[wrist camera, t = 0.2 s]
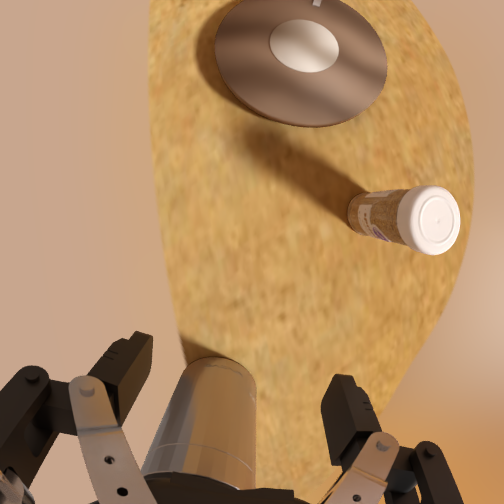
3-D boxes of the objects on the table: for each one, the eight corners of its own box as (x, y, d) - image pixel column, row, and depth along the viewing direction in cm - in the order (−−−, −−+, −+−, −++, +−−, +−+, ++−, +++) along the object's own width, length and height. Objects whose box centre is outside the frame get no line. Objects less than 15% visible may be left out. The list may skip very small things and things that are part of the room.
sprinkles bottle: (339, 224, 29) (398, 238, 16) (356, 184, 29) (423, 171, 15) (375, 242, 29) (448, 267, 16) (391, 204, 29) (470, 205, 16)
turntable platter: (367, 152, 27) (374, 149, 25) (193, 103, 26) (190, 97, 25) (388, 25, 24) (393, 18, 22) (243, -16, 24) (243, -24, 22)
